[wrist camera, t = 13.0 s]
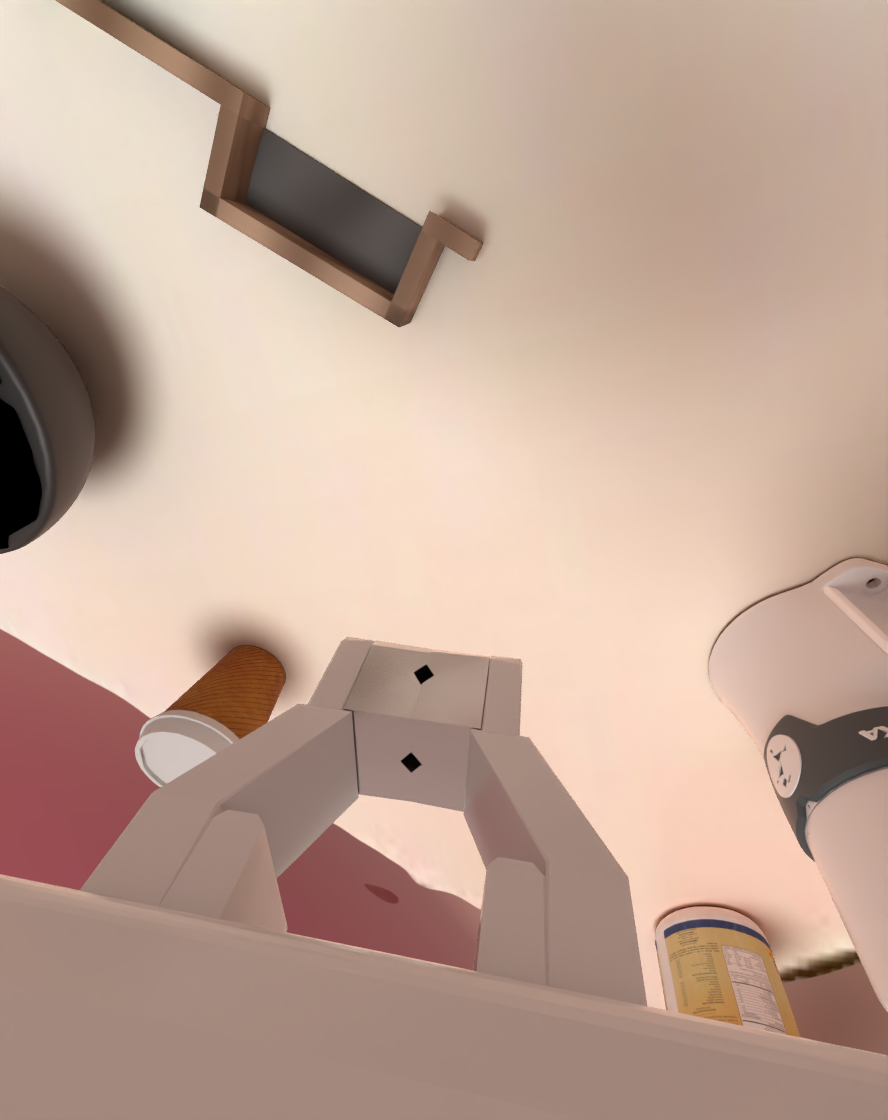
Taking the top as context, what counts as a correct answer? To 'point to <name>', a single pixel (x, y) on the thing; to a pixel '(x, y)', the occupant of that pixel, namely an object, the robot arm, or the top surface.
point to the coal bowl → (38, 427)
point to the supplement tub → (721, 970)
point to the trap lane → (298, 193)
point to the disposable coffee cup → (211, 714)
